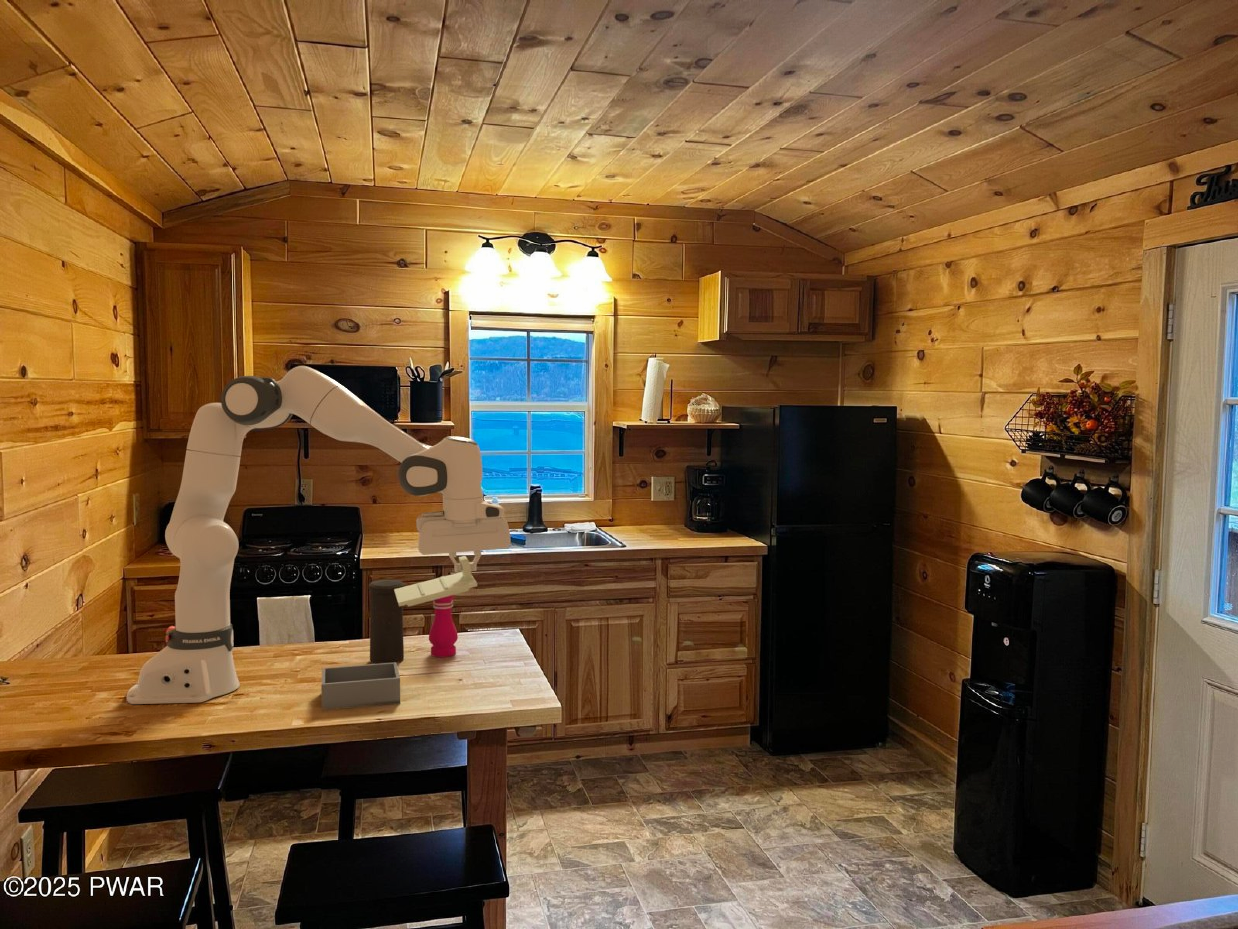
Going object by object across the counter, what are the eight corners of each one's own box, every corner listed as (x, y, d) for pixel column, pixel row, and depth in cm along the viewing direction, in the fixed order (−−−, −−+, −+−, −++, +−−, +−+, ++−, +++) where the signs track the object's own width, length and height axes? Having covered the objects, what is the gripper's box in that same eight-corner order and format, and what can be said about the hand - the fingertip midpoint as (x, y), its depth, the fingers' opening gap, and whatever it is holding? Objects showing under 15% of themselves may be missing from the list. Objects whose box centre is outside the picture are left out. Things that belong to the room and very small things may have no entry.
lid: (400, 611, 196) (393, 583, 195) (395, 596, 208) (389, 570, 207) (478, 590, 200) (472, 563, 199) (469, 577, 213) (464, 552, 212)
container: (410, 655, 233) (409, 577, 231) (398, 666, 224) (397, 585, 222) (376, 654, 234) (375, 576, 232) (363, 665, 225) (362, 584, 223)
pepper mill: (435, 659, 230) (434, 580, 228) (424, 652, 236) (424, 575, 234) (462, 655, 234) (461, 577, 232) (451, 648, 240) (450, 572, 238)
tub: (321, 710, 193) (321, 684, 193) (322, 692, 204) (322, 668, 204) (400, 703, 198) (400, 678, 197) (396, 686, 209) (396, 662, 209)
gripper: (416, 514, 198) (419, 578, 200) (511, 508, 204) (513, 570, 206) (414, 510, 204) (416, 572, 206) (505, 505, 210) (507, 564, 212)
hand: (465, 571), depth 206 cm, fingers closed on lid
